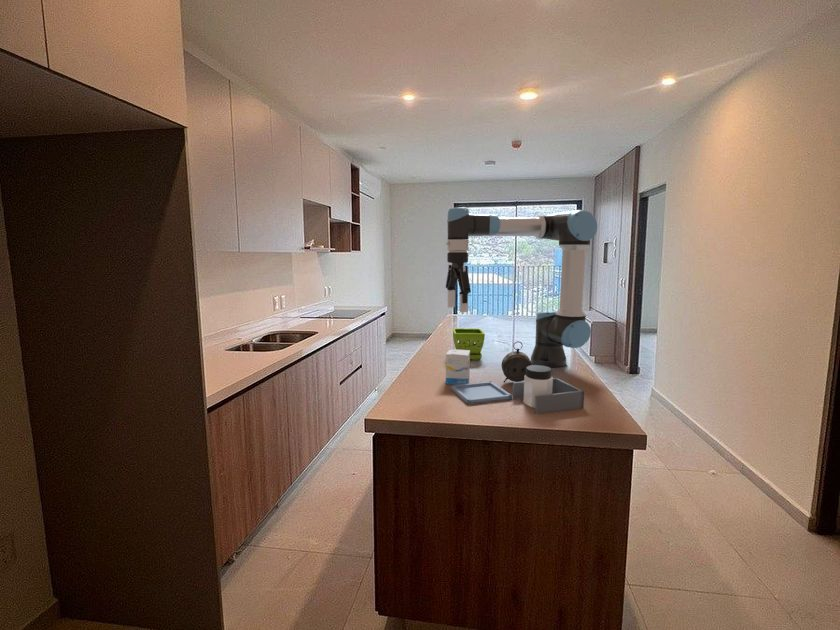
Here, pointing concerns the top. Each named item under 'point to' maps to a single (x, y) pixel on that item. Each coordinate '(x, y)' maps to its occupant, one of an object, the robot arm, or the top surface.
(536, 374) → the jar
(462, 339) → the flower pot
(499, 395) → the tray
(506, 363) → the alarm clock
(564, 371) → the top surface
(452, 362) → the ink box
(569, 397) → the wall
